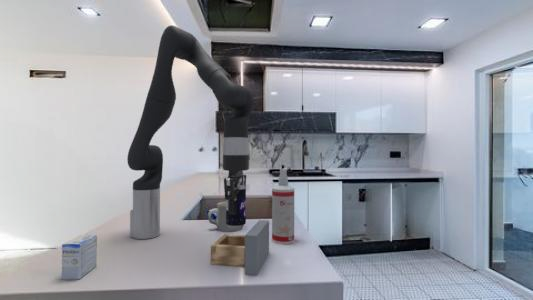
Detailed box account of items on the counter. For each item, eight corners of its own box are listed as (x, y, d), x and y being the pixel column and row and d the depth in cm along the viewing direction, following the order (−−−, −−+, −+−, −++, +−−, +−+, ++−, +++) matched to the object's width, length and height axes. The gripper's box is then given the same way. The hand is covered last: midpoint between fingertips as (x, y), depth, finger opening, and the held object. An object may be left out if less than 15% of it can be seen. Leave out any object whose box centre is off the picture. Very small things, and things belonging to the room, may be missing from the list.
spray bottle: (282, 236, 104) (282, 167, 104) (298, 240, 99) (298, 168, 99) (267, 241, 98) (267, 168, 98) (283, 246, 93) (283, 169, 93)
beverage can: (242, 229, 79) (242, 185, 79) (223, 228, 80) (223, 185, 80) (248, 224, 84) (248, 183, 84) (229, 223, 85) (229, 183, 85)
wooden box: (210, 264, 78) (210, 245, 78) (224, 250, 88) (224, 234, 89) (249, 267, 76) (249, 248, 76) (259, 252, 86) (259, 236, 86)
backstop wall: (245, 275, 71) (245, 235, 71) (259, 252, 87) (259, 220, 87) (256, 276, 71) (256, 235, 71) (269, 253, 86) (269, 220, 86)
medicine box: (79, 267, 76) (79, 234, 76) (97, 266, 77) (97, 234, 77) (61, 280, 68) (61, 244, 68) (80, 279, 69) (80, 243, 69)
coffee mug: (241, 225, 120) (241, 201, 120) (242, 231, 110) (242, 205, 110) (209, 226, 118) (209, 201, 118) (207, 232, 108) (207, 206, 108)
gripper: (241, 153, 74) (241, 218, 74) (254, 153, 89) (254, 207, 88) (214, 153, 76) (214, 217, 76) (231, 153, 90) (231, 207, 90)
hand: (235, 211), depth 82 cm, fingers closed on beverage can, 5 cm apart
